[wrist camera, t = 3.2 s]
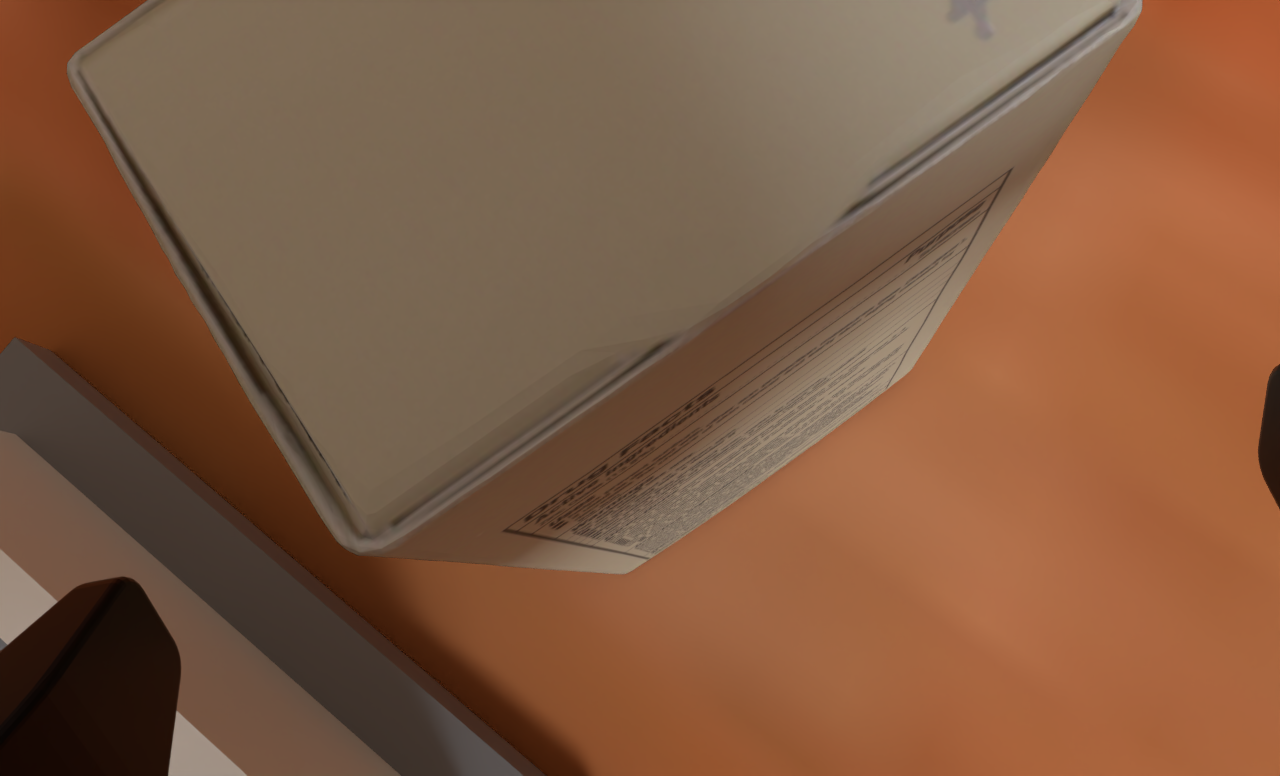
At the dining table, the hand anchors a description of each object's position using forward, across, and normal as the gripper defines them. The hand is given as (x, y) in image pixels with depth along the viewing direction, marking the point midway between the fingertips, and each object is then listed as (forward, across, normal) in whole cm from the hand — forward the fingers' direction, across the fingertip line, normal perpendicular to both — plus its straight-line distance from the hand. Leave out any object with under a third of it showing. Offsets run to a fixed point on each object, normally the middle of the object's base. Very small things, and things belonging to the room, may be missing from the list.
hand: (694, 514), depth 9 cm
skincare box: (+9, 0, +5) cm, 11 cm away
